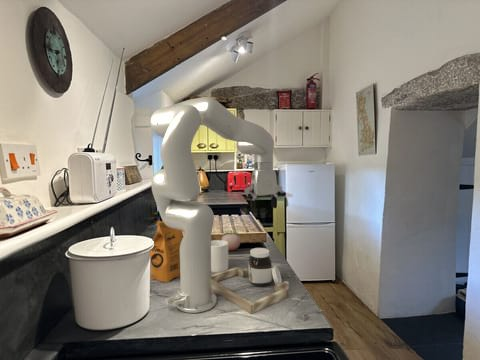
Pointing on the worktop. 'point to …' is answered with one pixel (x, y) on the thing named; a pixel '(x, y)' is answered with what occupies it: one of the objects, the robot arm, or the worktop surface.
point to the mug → (219, 256)
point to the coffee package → (166, 253)
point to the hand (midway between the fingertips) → (263, 208)
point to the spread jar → (262, 268)
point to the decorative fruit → (232, 240)
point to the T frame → (255, 306)
